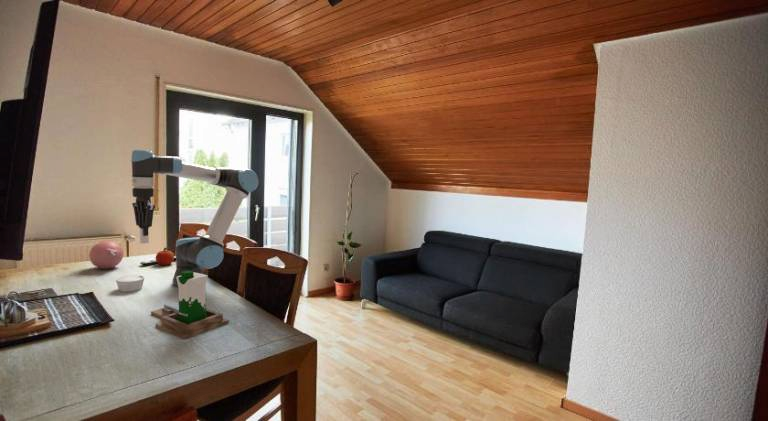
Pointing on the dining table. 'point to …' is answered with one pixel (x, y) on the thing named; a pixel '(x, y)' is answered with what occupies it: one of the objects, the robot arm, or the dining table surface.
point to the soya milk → (192, 296)
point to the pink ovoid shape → (106, 254)
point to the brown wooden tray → (188, 330)
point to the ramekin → (130, 283)
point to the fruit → (164, 257)
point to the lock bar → (172, 307)
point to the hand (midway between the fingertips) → (144, 242)
